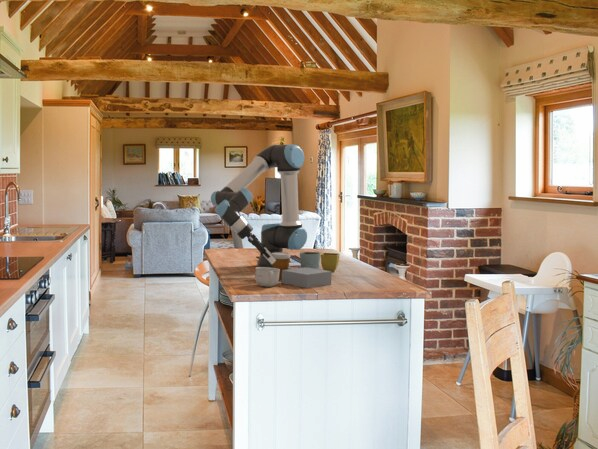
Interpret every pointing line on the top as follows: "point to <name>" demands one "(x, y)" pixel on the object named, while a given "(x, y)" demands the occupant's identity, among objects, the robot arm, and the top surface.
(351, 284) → the top surface
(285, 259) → the disposable coffee cup
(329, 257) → the flower pot
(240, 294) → the top surface
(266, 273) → the teacup
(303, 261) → the grey-green cup
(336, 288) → the top surface
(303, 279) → the riser block
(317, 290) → the top surface
